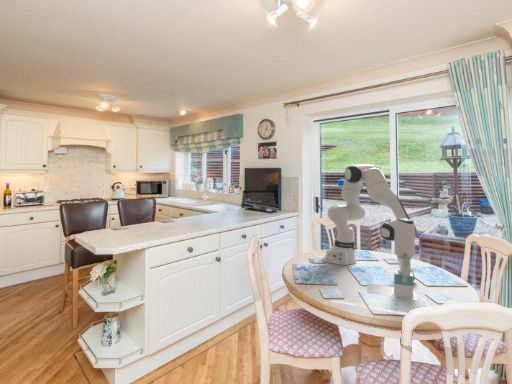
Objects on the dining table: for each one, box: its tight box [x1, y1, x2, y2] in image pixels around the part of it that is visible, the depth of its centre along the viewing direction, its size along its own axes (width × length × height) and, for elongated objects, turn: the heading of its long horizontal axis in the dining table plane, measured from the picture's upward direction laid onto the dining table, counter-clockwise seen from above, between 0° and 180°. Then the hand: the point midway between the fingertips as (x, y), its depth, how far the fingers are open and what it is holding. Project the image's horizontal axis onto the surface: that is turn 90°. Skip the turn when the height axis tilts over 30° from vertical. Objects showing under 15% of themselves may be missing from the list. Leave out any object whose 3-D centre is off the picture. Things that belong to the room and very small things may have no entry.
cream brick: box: [393, 281, 414, 296], centre depth 135 cm, size 8×5×5 cm, turn 66°
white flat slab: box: [366, 282, 418, 301], centre depth 138 cm, size 22×13×1 cm, turn 66°
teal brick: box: [393, 270, 415, 287], centre depth 135 cm, size 8×5×5 cm, turn 66°
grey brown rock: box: [397, 268, 416, 281], centre depth 150 cm, size 8×9×10 cm
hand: (403, 278), depth 135 cm, fingers open, 7 cm apart
